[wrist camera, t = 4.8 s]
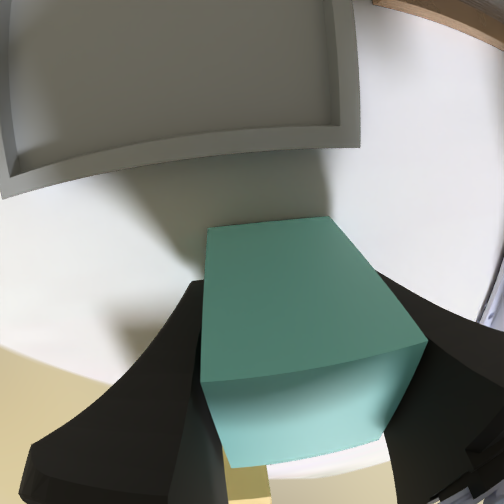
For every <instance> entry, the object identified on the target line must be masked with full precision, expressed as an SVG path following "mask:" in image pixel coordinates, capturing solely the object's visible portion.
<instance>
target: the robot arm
mask: <svg viewBox="0 0 504 504" xmlns="http://www.w3.org/2000/svg"><path fill="white" fill-rule="evenodd" d="M375 271H376V270H375ZM376 272H377V273H378V275H379V276H380V277H381V278H382V280H383V281H384V282H385V283H386V285H387V286H388V287H389V289H390V290H391V291H392V292H393V294H394V295H395V296H396V298H397V299H398V300H399V301H400V303H401V304H402V305H403V307H404V308H405V309H406V311H407V312H408V313H409V315H410V316H411V317H412V319H413V320H414V321H415V323H416V324H417V326H418V327H419V328H420V330H421V331H422V332H423V334H424V335H425V337H426V338H427V339H428V343H427V345H426V347H425V350H424V352H423V355H422V357H421V359H420V362H419V364H418V366H417V368H416V370H415V373H414V375H413V377H412V379H411V381H410V383H409V385H408V387H407V389H406V391H405V393H404V395H403V397H402V399H401V401H400V403H399V405H398V407H397V409H396V411H395V412H394V414H393V416H392V418H391V420H390V421H389V423H388V425H387V427H386V428H385V430H384V436H385V439H386V443H387V447H388V451H389V455H390V460H391V465H392V470H393V475H394V481H395V488H396V495H397V503H398V504H433V503H435V502H437V501H439V500H440V503H438V504H477V503H478V502H480V501H481V500H483V499H484V498H485V499H484V502H483V504H504V258H503V262H502V265H501V268H500V271H499V274H498V277H497V280H496V282H495V285H494V288H493V291H492V293H491V296H490V299H489V301H488V304H487V306H486V309H485V311H484V313H483V316H482V318H481V320H480V323H476V322H473V321H471V320H468V319H466V318H463V317H461V316H459V315H457V314H454V313H452V312H450V311H448V310H445V309H443V308H441V307H439V306H437V305H435V304H433V303H432V302H430V301H428V300H426V299H424V298H422V297H420V296H419V295H417V294H415V293H413V292H411V291H410V290H408V289H406V288H405V287H403V286H401V285H399V284H398V283H396V282H394V281H393V280H391V279H389V278H388V277H386V276H384V275H383V274H381V273H379V272H378V271H376ZM203 294H204V280H197V281H192V282H191V283H190V284H189V286H188V288H187V290H186V291H185V293H184V295H183V297H182V298H181V300H180V302H179V303H178V305H177V306H176V308H175V310H174V311H173V313H172V314H171V316H170V317H169V319H168V320H167V322H166V323H165V325H164V326H163V328H162V329H161V330H160V332H159V333H158V334H157V336H156V337H155V338H154V340H153V341H152V342H151V344H150V345H149V347H148V348H147V349H146V350H145V351H144V353H143V354H142V355H141V356H140V357H139V359H138V360H137V361H136V362H135V363H134V364H133V365H132V367H131V368H130V369H129V370H128V371H127V372H126V373H125V374H124V375H123V376H122V377H121V378H120V379H119V380H118V381H117V382H116V383H115V384H114V385H113V386H112V387H110V388H109V389H108V390H107V391H106V392H105V393H104V394H103V395H102V396H101V397H100V398H99V399H97V400H96V401H95V402H94V403H92V404H91V405H90V406H89V407H87V408H86V409H85V410H84V411H82V412H81V413H80V414H78V415H77V416H76V417H74V418H73V419H72V420H70V421H69V422H67V423H66V424H65V425H63V426H62V427H60V428H58V429H57V430H55V431H54V432H52V433H50V434H49V435H47V436H45V437H44V438H42V439H41V440H39V441H37V442H35V443H34V444H32V445H31V447H30V450H29V454H28V457H27V461H26V464H25V468H24V472H23V476H22V481H21V484H20V489H19V493H18V494H19V495H20V497H21V499H22V500H23V501H24V502H26V503H27V504H229V502H228V495H227V487H226V479H225V470H224V460H223V450H222V443H221V440H220V438H219V435H218V432H217V430H216V427H215V424H214V421H213V418H212V416H211V413H210V410H209V407H208V404H207V401H206V398H205V395H204V392H203V389H202V386H201V383H200V373H201V339H202V314H203Z"/></svg>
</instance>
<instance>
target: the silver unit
mask: <svg viewBox="0 0 504 504" xmlns="http://www.w3.org/2000/svg"><path fill="white" fill-rule="evenodd" d="M372 2H373V5H377V6H381V7H386V8H390V9H394V10H398V11H402V12H405V13H409V14H412V15H416V16H419V17H422V18H425V19H428V20H431V21H434V22H437V23H440V24H443V25H446V26H448V27H451V28H453V29H456V30H459V31H461V32H463V33H466V34H468V35H470V36H473V37H475V38H477V39H479V40H482V41H484V42H486V43H488V44H490V45H492V46H494V47H496V48H498V49H500V50H502V51H504V0H372Z"/></svg>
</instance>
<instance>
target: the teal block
mask: <svg viewBox="0 0 504 504" xmlns="http://www.w3.org/2000/svg"><path fill="white" fill-rule="evenodd" d="M427 343H428V339H427V338H426V337H425V335H424V334H423V332H422V331H421V330H420V328H419V327H418V326H417V324H416V323H415V321H414V320H413V319H412V317H411V316H410V315H409V313H408V312H407V311H406V309H405V308H404V307H403V305H402V304H401V303H400V301H399V300H398V299H397V298H396V296H395V295H394V294H393V292H392V291H391V290H390V289H389V287H388V286H387V285H386V283H385V282H384V281H383V280H382V278H381V277H380V276H379V275H378V273H377V272H376V271H375V270H374V268H373V267H372V266H371V265H370V264H369V262H368V261H367V260H366V259H365V258H364V256H363V255H362V254H361V253H360V252H359V250H358V249H357V248H356V247H355V246H354V244H353V243H352V242H351V241H350V240H349V239H348V237H347V236H346V235H345V234H344V233H343V232H342V230H341V229H340V228H339V227H338V226H337V225H336V224H335V222H334V221H333V220H332V219H331V218H330V217H329V216H324V217H313V218H301V219H291V220H280V221H270V222H260V223H250V224H240V225H231V226H222V227H213V228H208V232H207V245H206V260H205V276H204V294H203V314H202V339H201V373H200V383H201V386H202V389H203V392H204V395H205V398H206V401H207V404H208V407H209V410H210V413H211V416H212V418H213V421H214V424H215V427H216V430H217V432H218V435H219V438H220V440H221V443H222V446H223V448H224V451H225V454H226V456H227V459H228V461H229V464H230V466H231V468H241V467H252V466H261V465H269V464H276V463H283V462H289V461H295V460H300V459H306V458H311V457H316V456H320V455H325V454H329V453H334V452H338V451H342V450H345V449H349V448H353V447H357V446H360V445H364V444H367V443H370V442H373V441H377V440H379V438H380V437H381V435H382V433H383V432H384V430H385V428H386V427H387V425H388V423H389V421H390V420H391V418H392V416H393V414H394V412H395V411H396V409H397V407H398V405H399V403H400V401H401V399H402V397H403V395H404V393H405V391H406V389H407V387H408V385H409V383H410V381H411V379H412V377H413V375H414V373H415V370H416V368H417V366H418V364H419V362H420V359H421V357H422V355H423V352H424V350H425V347H426V345H427Z"/></svg>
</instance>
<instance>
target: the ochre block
mask: <svg viewBox="0 0 504 504" xmlns="http://www.w3.org/2000/svg"><path fill="white" fill-rule="evenodd" d="M222 450H223V460H224V470H225V479H226V487H227V495H228V502H229V504H272V503H271V493H270V487H269V480H268V474H267V468H266V465H261V466H252V467H241V468H231V466H230V464H229V461H228V459H227V456H226V454H225V451H224V448H223V446H222Z"/></svg>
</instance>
